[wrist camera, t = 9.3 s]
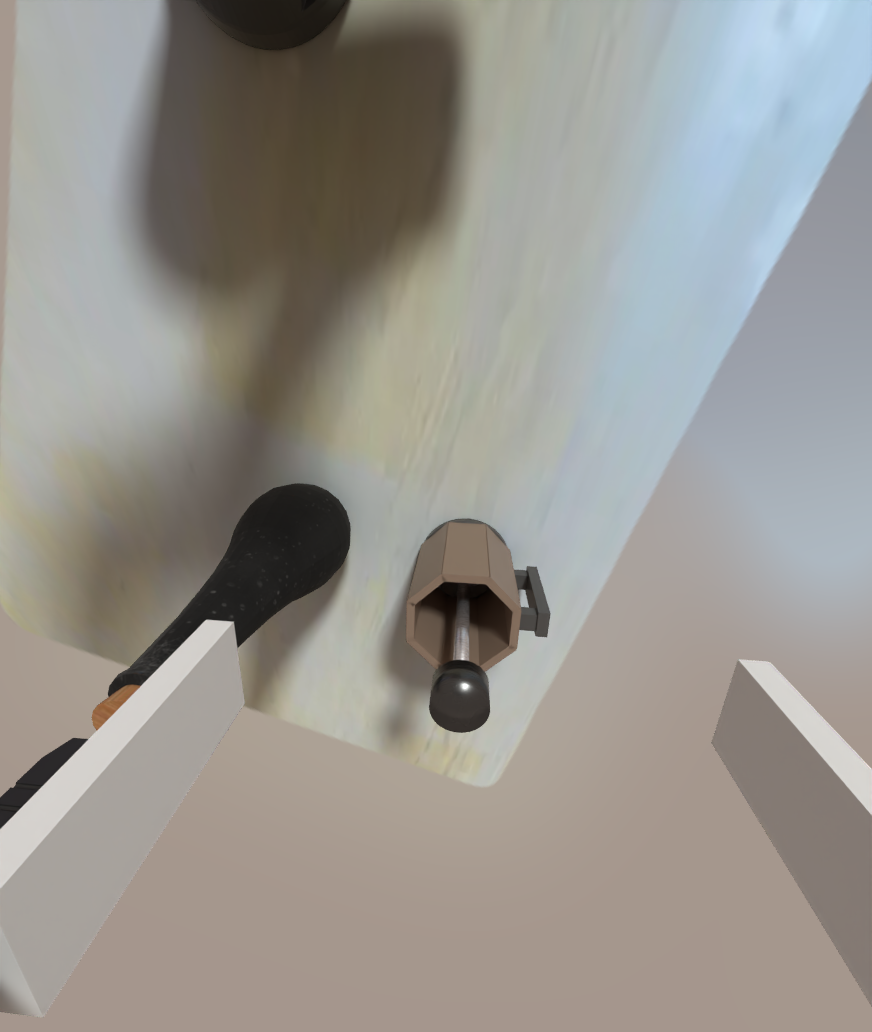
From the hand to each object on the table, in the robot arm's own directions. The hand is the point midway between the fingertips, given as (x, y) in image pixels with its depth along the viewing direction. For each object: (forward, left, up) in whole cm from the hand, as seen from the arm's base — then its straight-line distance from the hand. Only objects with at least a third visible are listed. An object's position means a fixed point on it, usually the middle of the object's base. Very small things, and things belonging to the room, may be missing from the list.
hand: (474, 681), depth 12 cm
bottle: (+10, -17, -37) cm, 42 cm away
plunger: (+14, 0, -35) cm, 38 cm away
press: (+14, +1, -37) cm, 39 cm away
